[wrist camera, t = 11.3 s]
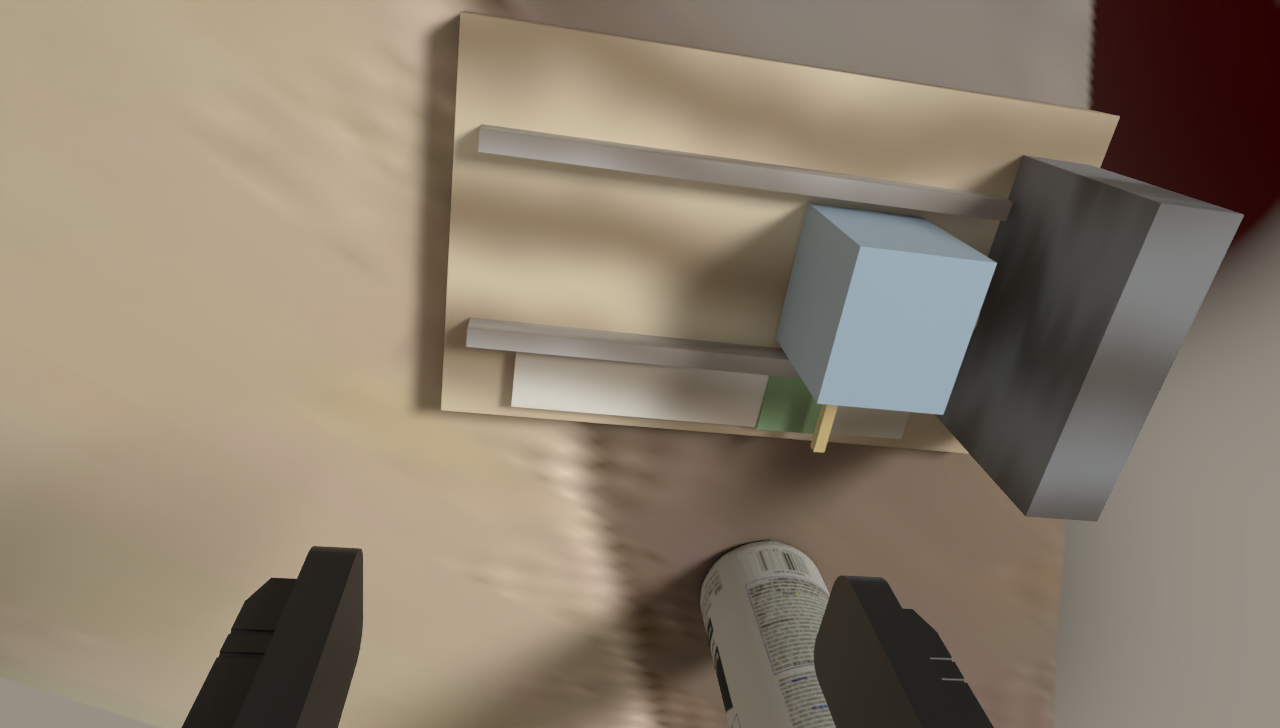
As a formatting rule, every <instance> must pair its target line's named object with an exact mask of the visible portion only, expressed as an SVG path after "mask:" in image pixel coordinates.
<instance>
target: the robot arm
mask: <svg viewBox="0 0 1280 728" xmlns="http://www.w3.org/2000/svg"><path fill="white" fill-rule="evenodd" d="M362 628H363V553H362V550H361V549H358V548H339V547H320V546H313V547H312V548H311V549H310V551H309V553H308V555H307V557H306V560H305V562H304V564H303V566H302V569H301V571H300V573H299V576H298V578H297V579H286V578H271V579H270V580H268V581H267V582H266V583H265V584H264V585H263V586H262V587H261V588H259V589H258V590H257V591H256V592H255V593H254V594H253V595H251V596H250V597H249V598H248V599H247V600H246V601H245V602H244V604H243V606H242V608H241V610H240V612H239V614H238V616H237V618H236V620H235V622H234V624H233V626H232V628H231V634H228V636H227V638H226V640H225V642H224V644H223V646H222V648H221V650H220V655H219V657H217V658H216V660H215V662H214V664H213V666H212V668H211V670H210V672H209V674H208V676H207V678H206V680H205V682H204V684H203V686H202V688H201V690H200V692H199V694H198V696H197V698H196V700H195V702H194V704H193V706H192V708H191V710H190V712H189V714H188V716H187V718H186V720H185V722H184V724H183V726H182V728H338V725H339V722H340V718H341V715H342V711H343V708H344V704H345V701H346V698H347V694H348V691H349V687H350V684H351V680H352V677H353V673H354V670H355V667H356V663H357V659H358V655H359V650H360V644H361V637H362ZM814 666H815V672H816V676H817V679H818V682H819V684H820V687H821V690H822V692H823V695H824V698H825V700H826V703H827V705H828V708H829V711H830V713H831V716H832V718H833V721H834V724H835V726H836V728H994V727H993V726H992V724H991V722H990V721H989V719H988V717H987V716H986V714H985V712H984V710H983V709H982V707H981V705H980V704H979V702H978V700H977V699H976V697H975V695H974V694H973V692H972V690H971V689H970V687H969V685H968V684H967V683H964V677H963V675H962V674H961V672H960V670H959V669H958V667H957V665H956V663H955V662H952V660H951V655H950V653H949V652H948V650H947V648H946V647H945V645H944V643H943V642H942V640H941V638H940V637H939V635H938V633H937V632H936V631H935V630H934V629H933V628H932V627H931V626H930V625H929V624H928V623H927V622H926V621H925V620H923V619H922V618H921V617H920V616H919V615H918V614H917V613H916V612H915V611H914V610H913V609H902V607H901V605H900V604H899V602H898V600H897V598H896V597H895V595H894V593H893V591H892V589H891V588H890V586H889V584H888V583H887V582H886V580H884V579H883V578H879V577H860V576H839V577H838V578H837V579H836V581H835V582H834V585H833V588H832V591H831V594H830V597H829V600H828V603H827V606H826V609H825V612H824V615H823V619H822V622H821V625H820V628H819V631H818V634H817V637H816V641H815V646H814Z"/></svg>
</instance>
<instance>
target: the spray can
mask: <svg viewBox="0 0 1280 728" xmlns="http://www.w3.org/2000/svg"><path fill="white" fill-rule="evenodd" d="M829 597H830V594H829V592H828V590H827V588H826V585H825V583H824V581H823V579H822V577H821V575H820V573H819V571H818V569H817V567H816V566H815V565H814V563H813V562H812V561H811V560H810V559H809V557H808V556H806V555H805V554H804V553H802V552H801V551H799V550H798V549H796V548H795V547H794V546H791V545H789V544H785V543H782V542H777V541H773V540H766V541H761V542H756V543H750V544H746V545H743V546H740V547H738V548H736V549H734V550H732V551H730V552H728V553H726V554H724V555H723V556H721V557H720V558H719V560H718V561H717V562H716V563H715V564H714V565H713V566H712V567H711V568H710V570H709V572H708V574H707V576H706V578H705V579H704V582H703V584H702V589H701V599H700V605H701V612H702V616H703V621H704V625H705V629H706V633H707V637H708V641H709V647H710V650H711V653H712V658H713V661H714V665H715V670H716V674H717V678H718V682H719V686H720V690H721V694H722V698H723V702H724V707H725V711H726V715H727V719H728V723H729V727H730V728H836V726H835V724H834V721H833V718H832V716H831V713H830V711H829V708H828V705H827V703H826V700H825V698H824V695H823V692H822V690H821V687H820V684H819V682H818V679H817V676H816V672H815V666H814V646H815V641H816V637H817V634H818V631H819V628H820V625H821V622H822V619H823V615H824V612H825V609H826V606H827V603H828V600H829Z"/></svg>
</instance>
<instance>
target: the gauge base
mask: <svg viewBox="0 0 1280 728" xmlns="http://www.w3.org/2000/svg"><path fill="white" fill-rule="evenodd" d="M1119 118H1120V117H1119V116H1115V115H1111V114H1106V113H1102V112H1097V111H1092V110H1085V109H1079V108H1073V107H1066V106H1060V105H1054V104H1048V103H1041V102H1035V101H1029V100H1022V99H1016V98H1010V97H1003V96H997V95H991V94H984V93H978V92H972V91H966V90H959V89H953V88H947V87H940V86H934V85H928V84H921V83H915V82H909V81H902V80H896V79H890V78H884V77H877V76H871V75H865V74H858V73H852V72H846V71H839V70H833V69H827V68H820V67H814V66H808V65H801V64H795V63H789V62H783V61H776V60H770V59H764V58H757V57H751V56H745V55H738V54H732V53H726V52H719V51H713V50H707V49H701V48H694V47H688V46H682V45H675V44H669V43H663V42H656V41H650V40H644V39H637V38H631V37H625V36H619V35H612V34H606V33H600V32H593V31H587V30H581V29H574V28H568V27H562V26H555V25H549V24H543V23H537V22H530V21H524V20H518V19H511V18H505V17H499V16H492V15H486V14H480V13H473V12H467V11H463V12H460V29H459V49H458V70H457V90H456V111H455V132H454V152H453V173H452V193H451V214H450V234H449V255H448V276H447V296H446V317H445V337H444V358H443V378H442V399H441V410H444V411H456V412H468V413H480V414H493V415H505V416H517V417H529V418H541V419H554V420H566V421H578V422H590V423H603V424H615V425H627V426H639V427H651V428H664V429H676V430H688V431H700V432H713V433H725V434H737V435H749V436H761V437H774V438H786V439H798V440H810V441H812V438H813V434H814V431H815V427H816V424H817V420H818V416H819V413H820V409H821V406H822V404H817V403H816V401H815V399H814V398H813V396H812V395H811V393H810V392H809V390H808V388H807V387H806V385H805V384H804V382H803V381H802V379H801V377H800V376H799V374H798V373H797V371H796V370H795V368H794V366H793V365H792V363H791V362H790V360H789V359H788V357H787V355H786V354H785V352H784V351H783V349H782V348H781V346H780V344H779V343H778V341H777V340H776V334H777V330H778V326H779V322H780V318H781V313H782V309H783V305H784V301H785V297H786V293H787V289H788V284H789V280H790V276H791V272H792V268H793V264H794V260H795V255H796V251H797V247H798V243H799V239H800V235H801V231H802V226H803V222H804V218H805V214H806V210H807V206H808V203H815V204H823V205H830V206H838V207H846V208H853V209H861V210H869V211H876V212H884V213H892V214H899V215H907V216H915V217H922V218H925V219H926V220H928V221H930V222H931V223H933V224H934V225H936V226H938V227H939V228H941V229H943V230H944V231H946V232H947V233H949V234H951V235H952V236H954V237H956V238H957V239H959V240H961V241H962V242H964V243H965V244H967V245H969V246H970V247H972V248H974V249H975V250H977V251H978V252H980V253H982V254H983V255H985V256H987V257H988V258H990V259H991V260H993V261H995V262H996V263H997V265H996V268H995V271H994V274H993V276H992V279H991V282H990V285H989V288H988V290H987V293H986V296H985V299H984V302H983V305H982V307H981V310H980V314H979V320H978V323H977V326H976V328H975V329H974V331H973V333H972V336H971V338H970V341H969V344H968V347H967V350H966V352H965V355H964V358H963V361H962V364H961V366H960V369H959V372H958V375H957V378H956V381H955V383H954V386H953V389H952V392H951V395H950V397H949V400H948V403H947V406H946V409H945V412H944V414H943V415H939V414H928V413H917V412H906V411H895V410H883V409H872V408H861V407H850V406H839V405H838V407H837V411H836V414H835V418H834V421H833V425H832V428H831V432H830V435H829V438H828V442H835V443H847V444H859V445H871V446H884V447H896V448H908V449H920V450H932V451H945V452H957V453H969V454H970V455H971V456H972V457H973V458H974V459H975V460H976V461H977V463H978V464H979V465H980V466H981V467H982V468H983V469H984V470H985V472H986V473H987V474H988V475H989V476H990V477H991V478H992V479H993V480H994V482H995V483H996V484H997V485H998V486H999V487H1000V488H1001V489H1002V491H1003V492H1004V493H1005V494H1006V495H1007V496H1008V497H1009V498H1010V499H1011V501H1012V502H1013V503H1014V504H1015V505H1016V506H1017V507H1018V508H1019V509H1020V511H1021V512H1022V513H1023V514H1024V515H1025V516H1028V517H1042V518H1056V519H1071V520H1085V521H1097V520H1098V518H1099V516H1100V514H1101V512H1102V510H1103V508H1104V505H1105V503H1106V501H1107V499H1108V497H1109V495H1110V493H1111V491H1112V489H1113V487H1114V485H1115V483H1116V480H1117V479H1118V476H1119V474H1120V472H1121V470H1122V468H1123V466H1124V464H1125V462H1126V460H1127V458H1128V456H1129V453H1130V451H1131V449H1132V447H1133V445H1134V443H1135V441H1136V439H1137V437H1138V435H1139V433H1140V430H1141V429H1142V426H1143V424H1144V422H1145V420H1146V418H1147V416H1148V414H1149V412H1150V410H1151V408H1152V405H1153V403H1154V401H1155V399H1156V397H1157V395H1158V393H1159V391H1160V389H1161V387H1162V385H1163V383H1164V381H1165V378H1166V376H1167V374H1168V372H1169V370H1170V368H1171V366H1172V364H1173V362H1174V360H1175V358H1176V356H1177V354H1178V351H1179V349H1180V347H1181V345H1182V343H1183V341H1184V339H1185V337H1186V335H1187V333H1188V330H1189V329H1190V326H1191V324H1192V322H1193V320H1194V318H1195V316H1196V314H1197V312H1198V310H1199V308H1200V306H1201V303H1202V301H1203V299H1204V297H1205V295H1206V293H1207V291H1208V289H1209V287H1210V285H1211V282H1212V281H1213V279H1214V276H1215V274H1216V272H1217V270H1218V268H1219V266H1220V264H1221V262H1222V259H1223V258H1224V256H1225V254H1226V252H1227V249H1228V247H1229V245H1230V243H1231V241H1232V239H1233V237H1234V235H1235V233H1236V231H1237V228H1238V227H1239V224H1240V222H1241V220H1242V218H1243V216H1244V215H1243V214H1240V213H1237V212H1234V211H1231V210H1228V209H1224V208H1221V207H1218V206H1215V205H1212V204H1209V203H1206V202H1203V201H1200V200H1196V199H1194V198H1190V197H1187V196H1184V195H1181V194H1178V193H1175V192H1172V191H1169V190H1166V189H1163V188H1160V187H1157V186H1153V185H1150V184H1147V183H1144V182H1141V181H1138V180H1135V179H1132V178H1129V177H1126V176H1123V175H1119V174H1116V173H1113V172H1110V171H1107V170H1104V169H1101V168H1100V166H1101V164H1102V161H1103V158H1104V156H1105V153H1106V151H1107V148H1108V146H1109V143H1110V141H1111V138H1112V136H1113V133H1114V130H1115V128H1116V125H1117V123H1118V120H1119Z"/></svg>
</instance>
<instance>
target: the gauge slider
mask: <svg viewBox="0 0 1280 728" xmlns="http://www.w3.org/2000/svg"><path fill="white" fill-rule="evenodd" d="M996 265H997V263H996V262H995V261H993V260H991V259H990V258H988V257H987V256H985V255H983V254H982V253H980V252H978V251H977V250H975V249H974V248H972V247H970V246H969V245H967V244H965V243H964V242H962V241H961V240H959V239H957V238H956V237H954V236H952V235H951V234H949V233H947V232H946V231H944V230H943V229H941V228H939V227H938V226H936V225H934V224H933V223H931V222H930V221H928V220H926V219H925V218H922V217H915V216H907V215H899V214H892V213H884V212H876V211H869V210H861V209H853V208H846V207H838V206H830V205H823V204H815V203H808V206H807V210H806V214H805V218H804V222H803V226H802V231H801V235H800V239H799V243H798V247H797V251H796V255H795V260H794V264H793V268H792V272H791V276H790V280H789V284H788V289H787V293H786V297H785V301H784V305H783V309H782V313H781V318H780V322H779V326H778V330H777V334H776V340H777V341H778V343H779V344H780V346H781V348H782V349H783V351H784V352H785V354H786V355H787V357H788V359H789V360H790V362H791V363H792V365H793V366H794V368H795V370H796V371H797V373H798V374H799V376H800V377H801V379H802V381H803V382H804V384H805V385H806V387H807V388H808V390H809V392H810V393H811V395H812V396H813V398H814V399H815V401H816V403H817V404H822V406H821V409H820V413H819V416H818V420H817V424H816V427H815V431H814V434H813V438H812V442H811V445H810V446H811V448H812V450H813V452H823V453H824V452H825V449H826V445H827V442H828V438H829V435H830V432H831V428H832V425H833V421H834V418H835V414H836V411H837V407H838V405H839V406H850V407H861V408H872V409H883V410H895V411H906V412H917V413H928V414H939V415H943V414H944V412H945V409H946V406H947V403H948V400H949V397H950V395H951V392H952V389H953V386H954V383H955V381H956V378H957V375H958V372H959V369H960V366H961V364H962V361H963V358H964V355H965V352H966V350H967V347H968V344H969V341H970V338H971V336H972V333H973V331H974V329H975V328H976V326H977V323H978V320H979V314H980V310H981V307H982V305H983V302H984V299H985V296H986V293H987V290H988V288H989V285H990V282H991V279H992V276H993V274H994V271H995V268H996Z"/></svg>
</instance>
